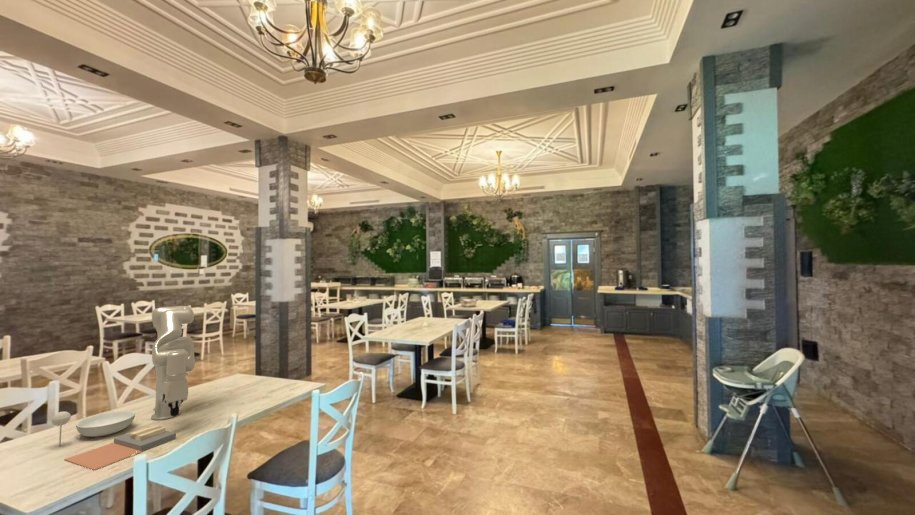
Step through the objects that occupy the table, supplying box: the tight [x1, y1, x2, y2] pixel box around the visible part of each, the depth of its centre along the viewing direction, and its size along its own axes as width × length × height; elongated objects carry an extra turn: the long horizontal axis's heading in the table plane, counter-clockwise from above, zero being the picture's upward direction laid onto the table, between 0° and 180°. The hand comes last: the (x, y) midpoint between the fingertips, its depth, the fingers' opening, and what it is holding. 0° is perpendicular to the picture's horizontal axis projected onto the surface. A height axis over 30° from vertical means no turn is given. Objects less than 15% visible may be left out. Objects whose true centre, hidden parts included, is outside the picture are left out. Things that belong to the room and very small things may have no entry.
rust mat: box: [63, 442, 143, 471], centre depth 154 cm, size 22×16×1 cm
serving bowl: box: [75, 410, 136, 437], centre depth 178 cm, size 21×21×7 cm
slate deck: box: [113, 426, 177, 452], centre depth 168 cm, size 20×14×2 cm
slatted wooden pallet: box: [129, 424, 167, 441], centre depth 169 cm, size 8×10×2 cm
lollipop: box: [51, 411, 72, 447], centre depth 163 cm, size 6×6×15 cm
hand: (174, 415), depth 179 cm, fingers closed
